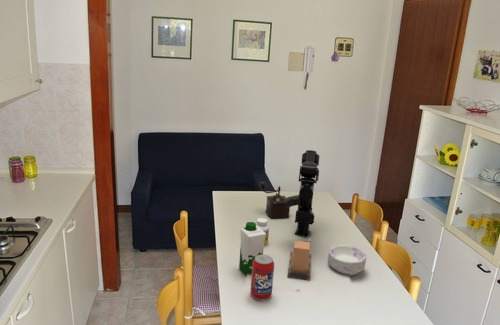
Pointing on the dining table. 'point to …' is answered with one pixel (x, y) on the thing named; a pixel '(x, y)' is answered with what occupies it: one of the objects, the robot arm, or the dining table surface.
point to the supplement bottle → (263, 228)
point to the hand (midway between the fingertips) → (303, 224)
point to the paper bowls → (346, 259)
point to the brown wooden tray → (296, 274)
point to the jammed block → (300, 257)
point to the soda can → (262, 277)
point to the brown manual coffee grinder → (275, 204)
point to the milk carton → (250, 246)
